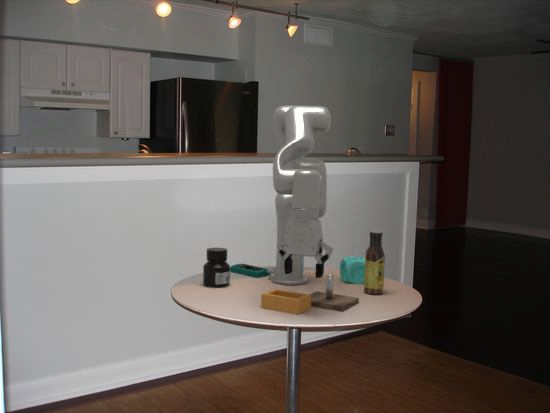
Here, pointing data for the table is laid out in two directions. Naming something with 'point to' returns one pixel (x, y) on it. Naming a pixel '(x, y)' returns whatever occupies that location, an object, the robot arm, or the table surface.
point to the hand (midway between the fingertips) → (303, 275)
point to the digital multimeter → (249, 270)
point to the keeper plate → (332, 298)
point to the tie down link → (286, 301)
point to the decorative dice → (352, 270)
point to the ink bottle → (216, 268)
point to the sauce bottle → (374, 265)
